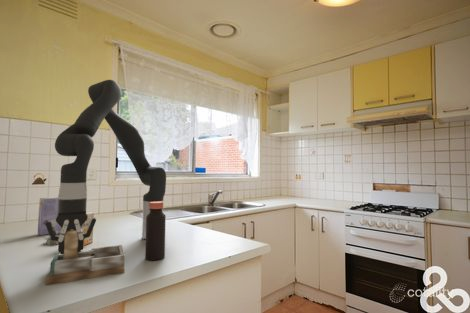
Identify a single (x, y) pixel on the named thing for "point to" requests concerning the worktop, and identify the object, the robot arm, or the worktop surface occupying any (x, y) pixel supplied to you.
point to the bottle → (155, 232)
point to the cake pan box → (47, 214)
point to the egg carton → (51, 240)
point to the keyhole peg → (70, 244)
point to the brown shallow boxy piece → (87, 265)
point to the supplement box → (85, 228)
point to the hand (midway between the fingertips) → (70, 252)
